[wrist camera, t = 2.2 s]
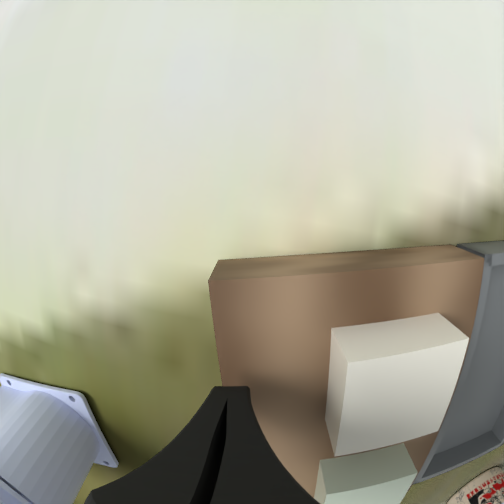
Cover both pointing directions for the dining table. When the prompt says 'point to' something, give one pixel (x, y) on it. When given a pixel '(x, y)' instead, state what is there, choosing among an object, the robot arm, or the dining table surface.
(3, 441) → the robot arm
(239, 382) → the walnut plate
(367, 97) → the dining table surface
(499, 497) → the teacup with lid
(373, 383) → the cream tile
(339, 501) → the sage tile
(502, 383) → the box
